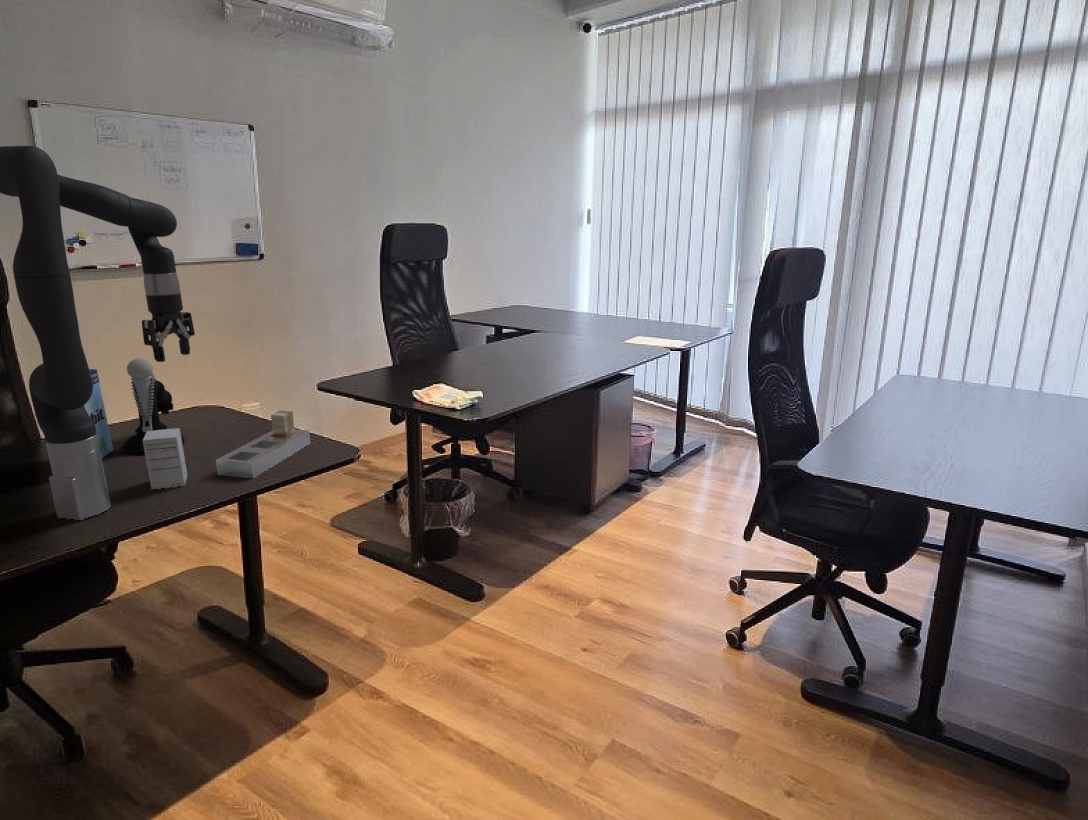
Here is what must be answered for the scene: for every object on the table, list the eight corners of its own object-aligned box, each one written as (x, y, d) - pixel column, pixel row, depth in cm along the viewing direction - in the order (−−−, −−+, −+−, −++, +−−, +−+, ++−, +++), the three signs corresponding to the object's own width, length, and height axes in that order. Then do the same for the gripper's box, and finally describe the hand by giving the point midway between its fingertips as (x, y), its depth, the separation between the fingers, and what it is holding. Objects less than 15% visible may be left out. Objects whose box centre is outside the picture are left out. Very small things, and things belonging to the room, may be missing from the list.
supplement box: (154, 479, 172) (146, 430, 168) (188, 475, 174) (180, 427, 171) (150, 490, 165) (141, 440, 162) (185, 486, 168) (177, 436, 164)
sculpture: (115, 457, 187) (97, 365, 180) (140, 430, 209) (125, 348, 202) (177, 452, 191) (163, 362, 184) (195, 426, 213) (183, 345, 206)
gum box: (80, 476, 174) (61, 386, 168) (57, 477, 174) (38, 387, 167) (114, 449, 193) (98, 368, 186) (94, 450, 192) (77, 369, 186)
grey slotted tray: (253, 478, 172) (251, 463, 171) (217, 475, 175) (215, 459, 174) (310, 444, 197) (309, 430, 196) (278, 441, 199) (277, 428, 198)
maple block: (287, 450, 192) (283, 415, 189) (275, 449, 193) (270, 414, 190) (296, 446, 195) (292, 411, 192) (283, 444, 196) (279, 410, 193)
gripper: (154, 296, 162) (165, 365, 166) (196, 288, 175) (206, 352, 180) (126, 295, 164) (138, 363, 168) (171, 288, 177) (180, 351, 181)
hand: (173, 357), depth 174 cm, fingers open, 8 cm apart
